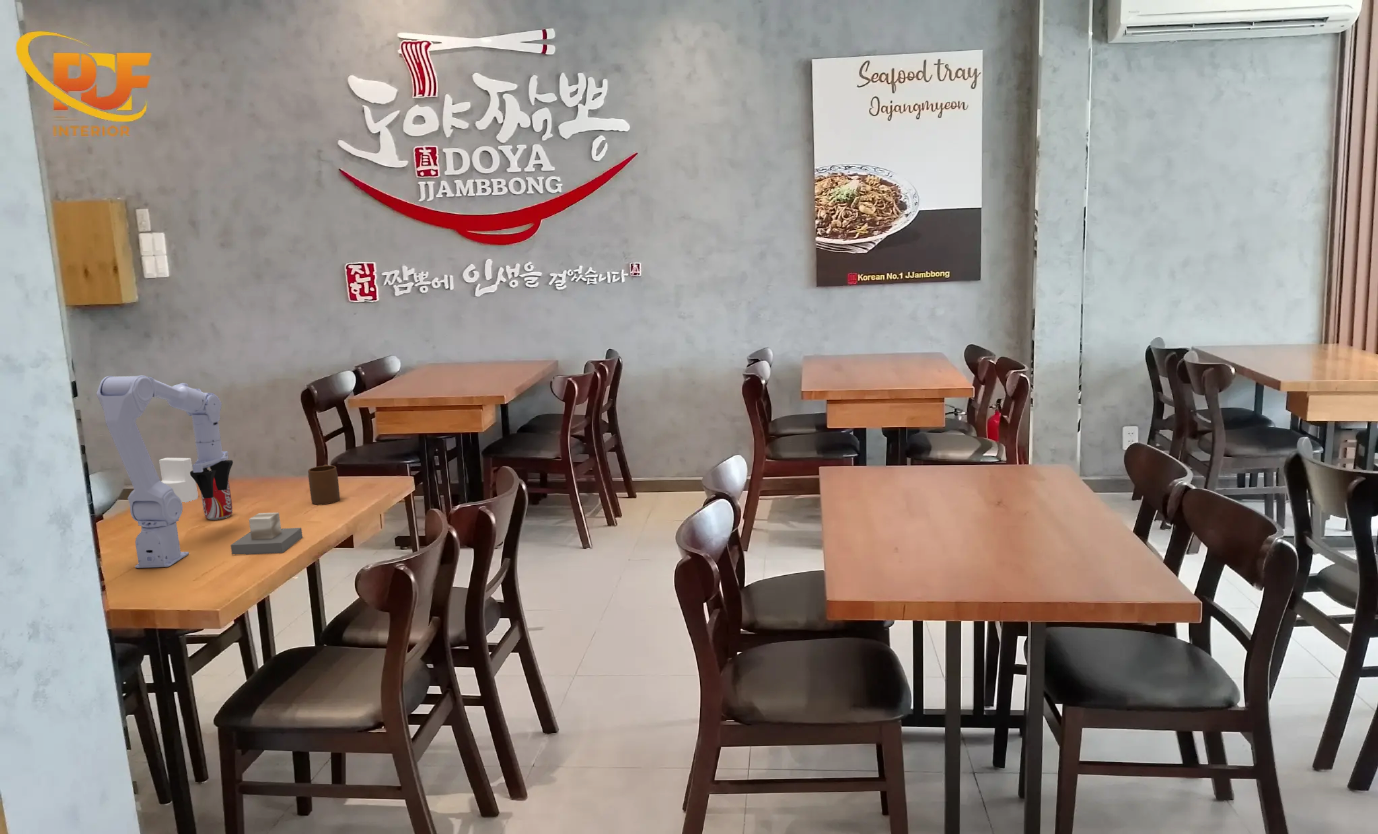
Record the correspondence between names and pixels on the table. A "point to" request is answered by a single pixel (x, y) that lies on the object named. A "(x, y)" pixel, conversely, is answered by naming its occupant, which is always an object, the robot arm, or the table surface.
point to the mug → (323, 484)
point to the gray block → (265, 526)
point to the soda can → (218, 504)
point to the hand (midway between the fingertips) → (215, 493)
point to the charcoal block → (267, 543)
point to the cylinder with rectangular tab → (179, 477)
